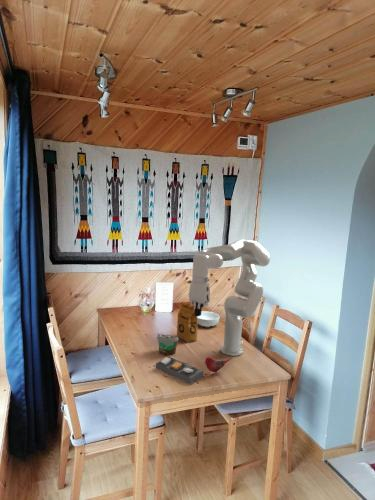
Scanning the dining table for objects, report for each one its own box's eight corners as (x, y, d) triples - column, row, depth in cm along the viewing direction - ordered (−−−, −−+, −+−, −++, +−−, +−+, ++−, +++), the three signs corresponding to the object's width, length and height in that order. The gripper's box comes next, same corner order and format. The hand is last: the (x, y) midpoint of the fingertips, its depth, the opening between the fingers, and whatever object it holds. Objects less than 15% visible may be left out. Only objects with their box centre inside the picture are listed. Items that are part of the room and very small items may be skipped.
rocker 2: (187, 369, 178) (188, 367, 178) (193, 372, 176) (193, 370, 176) (182, 370, 175) (183, 368, 175) (188, 372, 173) (188, 370, 173)
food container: (152, 353, 201) (153, 336, 200) (157, 349, 207) (158, 332, 205) (173, 358, 197) (174, 340, 195) (177, 354, 203) (178, 336, 201)
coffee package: (185, 344, 217) (187, 307, 213) (174, 336, 227) (176, 301, 223) (199, 341, 222) (201, 305, 219) (188, 334, 232) (189, 299, 229)
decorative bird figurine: (201, 376, 179) (202, 356, 177) (229, 368, 189) (230, 349, 187) (205, 379, 177) (206, 359, 175) (232, 370, 187) (234, 351, 185)
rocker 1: (166, 358, 186) (166, 357, 186) (171, 360, 184) (170, 359, 184) (160, 362, 184) (160, 361, 183) (165, 365, 182) (165, 363, 181)
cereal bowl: (188, 325, 247) (189, 315, 246) (202, 319, 261) (202, 309, 260) (210, 331, 238) (211, 321, 237) (223, 325, 252) (224, 315, 251)
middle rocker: (176, 363, 182) (176, 361, 182) (182, 365, 180) (181, 363, 180) (171, 367, 179) (171, 365, 179) (176, 369, 177) (176, 367, 177)
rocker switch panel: (168, 362, 192) (169, 355, 192) (203, 376, 179) (203, 369, 178) (155, 368, 185) (155, 361, 184) (190, 384, 171) (190, 376, 171)
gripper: (216, 281, 180) (214, 317, 183) (192, 275, 189) (190, 310, 192) (207, 283, 174) (205, 321, 177) (183, 277, 183) (181, 313, 186)
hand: (197, 315), depth 184 cm, fingers closed
